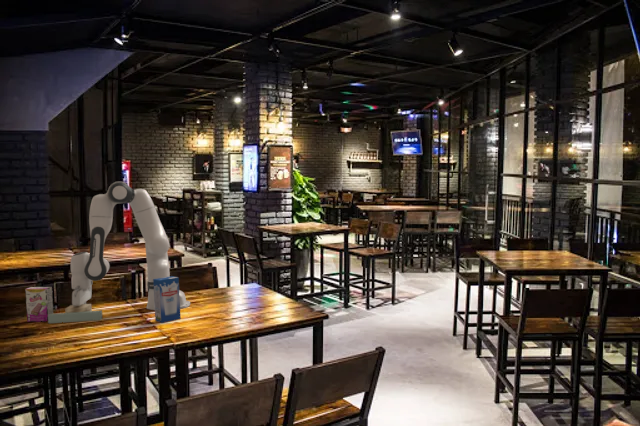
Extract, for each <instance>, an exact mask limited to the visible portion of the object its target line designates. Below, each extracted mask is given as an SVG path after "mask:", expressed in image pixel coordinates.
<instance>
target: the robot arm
mask: <svg viewBox="0 0 640 426" xmlns="http://www.w3.org/2000/svg"><path fill="white" fill-rule="evenodd" d="M117 204H129V206H130V208H131V209H132V213H133V215H134V219H135V221H136V223H137V226H138V229H139V230H140V231H139V232H141V233H140V234H141V235H142V237H143V239H144V246H145V259H146V266H147V267H146V268H147V283H146V285H147V293H148V297H147V305H146V309H147V310H152V311H155V302H154V283H153V279H158V278H164V277H170V275H171V274H170V273H171V272H170V262H169V256H168V254H169V253H168V251H169V249H170V241H169V238H168V236H167V234H166V233H167V232H166V231H165V229H164V226H163V224H162V222H161V220H160V217H159V215H158V211H157V210H156V206H155V204H154V201H153V199H152V198H151V196H150V194H149V193H148V191H147V190H146V189H144V188H136V189H133V188H132V187H130V186H129V184H128V183H126V182H123V181H115V182H113V183H111V184H110V186H109V187H108V190H107V191H106V193H104V194H103V193H99V194H96V195H94V196H93V197H92V199H91V203H90V207H89V215H88V216H89V219H88V222H89V223H88V224H89V234H90V243H89V244H90V246H89V247H90V248H89V252H87V251H82V252H77V253H74V254H73V255H72V256H71V258H70V273H71V283H70V284H71V289H72V290H73V291H72V293H71V305H73V306H80V305H82V304H87V301H88V300H90V299H92V296H93V295H92V292H93V291H92V290H93V289H92V285H93V281H94V282H95V281H96V282H98V281H100V280H102V279H104V278H105V276H106V274H107V273H108V272H109V270H110V267H111V264H110V262H109V261H108V259H106V258H105V257H104V252H105V250H104V249H105V242H106V239H107V236H108V235H109V234H110V231H111V230H112V226H113V221H114V219H113V217H114V208H115V206H116V205H117ZM179 296H180V309H185V308H188V307H190V306H191V301H190V300H187V299H186V295H185V292H184V291H182V290H180V289H179Z"/></svg>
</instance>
